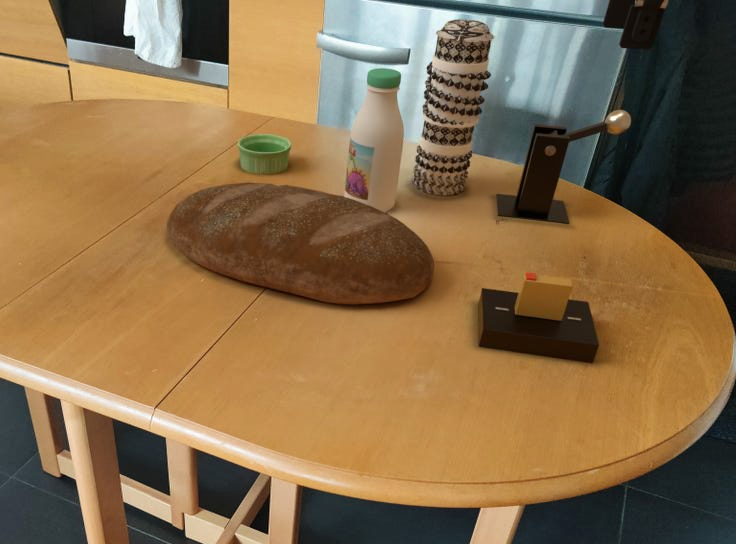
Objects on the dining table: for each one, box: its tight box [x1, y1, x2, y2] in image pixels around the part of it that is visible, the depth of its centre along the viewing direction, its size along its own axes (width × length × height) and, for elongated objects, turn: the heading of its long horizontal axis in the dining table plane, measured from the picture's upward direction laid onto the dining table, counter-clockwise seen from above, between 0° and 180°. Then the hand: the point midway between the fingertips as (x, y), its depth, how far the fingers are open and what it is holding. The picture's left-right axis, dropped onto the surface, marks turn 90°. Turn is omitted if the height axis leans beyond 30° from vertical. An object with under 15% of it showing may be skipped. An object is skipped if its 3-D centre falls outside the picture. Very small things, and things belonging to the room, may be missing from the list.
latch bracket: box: [495, 123, 570, 225], centre depth 104 cm, size 10×8×13 cm
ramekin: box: [237, 133, 292, 175], centre depth 120 cm, size 9×9×4 cm
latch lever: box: [546, 109, 632, 143], centre depth 100 cm, size 12×3×3 cm, turn 77°
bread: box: [165, 181, 435, 305], centre depth 93 cm, size 22×37×8 cm, turn 62°
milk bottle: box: [343, 67, 405, 214], centre depth 103 cm, size 8×8×20 cm
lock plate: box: [477, 287, 600, 364], centre depth 81 cm, size 12×9×3 cm
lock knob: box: [514, 271, 573, 321], centre depth 79 cm, size 5×2×5 cm, turn 76°
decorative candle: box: [411, 18, 495, 197], centre depth 107 cm, size 9×9×25 cm
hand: (625, 37), depth 78 cm, fingers open, 9 cm apart
